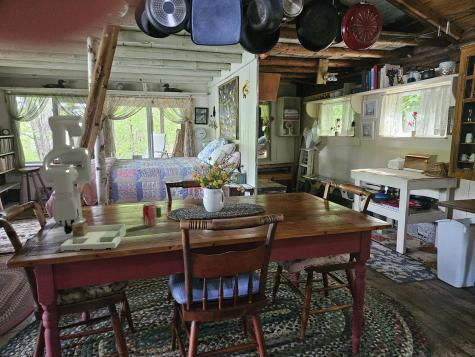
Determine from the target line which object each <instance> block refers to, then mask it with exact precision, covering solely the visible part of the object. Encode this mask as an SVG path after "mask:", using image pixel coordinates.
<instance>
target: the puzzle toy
mask: <svg viewBox="0 0 475 357" xmlns="http://www.w3.org/2000/svg"><path fill="white" fill-rule="evenodd" d="M155 206H156V214H157V218H161V217H162V208H161V206H160V205H159V204H158V205H155Z"/></svg>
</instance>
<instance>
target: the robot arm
mask: <svg viewBox="0 0 475 357" xmlns="http://www.w3.org/2000/svg"><path fill="white" fill-rule="evenodd" d="M47 122H48V123H47V124H48V126H49V129H50V131H51V135H52V137H51V138H52V149H50V151H48V152H47V154H46V155H45V156H44V158H43V161H42V177H43V178H42V179H43V180H44V182H45V183H47V184H53V188H54V193H52V197H53V198H54V199H53V202H52V218H53V220H54V222H56V223H60V225H61V226H63V230H64V233H65V235H70V234H71V233H73V231H72V226H74V225H75V224H76V223H86V219H87V218H85V217H83V210H82V201H81V200H82V199H81V192H80V190H79V188H78V187H77V186H76V185H81V184H88V183H91V182H92V181H93V171H92V170H93V168H92V161H91V154H90V150H89V149H88V148H86V147H76V146H75V139H74V138H76V137H77V138H78V137H80V138H81V137H83V136H85V131H86V121H85V119H84V117H83V116H81V115H70V114H69V115H67V114H65V115H60V114H59V115H52V116H49V117H48V119H47ZM73 137H74V138H73ZM56 159H58V162H59V164H60V165H62V167H60V166H59V167H58V166H57V167H51V164H52V162H53V161H54V160H56ZM75 165H76V166H75ZM77 165H81V166H77ZM63 166H64V167H63Z"/></svg>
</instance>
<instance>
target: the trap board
mask: <svg viewBox="0 0 475 357" xmlns="http://www.w3.org/2000/svg"><path fill="white" fill-rule="evenodd" d="M87 226H88V233H87V234H86V235H85V236H81V237H73V235H72V236H70V237H69V238H68V239H67V240H65V241H64V242H63V243H61V245H60V252H65V251H64V250H75V251H81V250H80V249H93V250H104V249H105V250H107V249H106V248H111V249H116V248H117V247H118V245H119V244H120V243H121V241H123V238H124V237H125V235H126V234H127V229H126V224H125V223H124V224H122V223H121V224H101V225H100V224H99V225H87Z"/></svg>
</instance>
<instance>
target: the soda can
mask: <svg viewBox="0 0 475 357" xmlns="http://www.w3.org/2000/svg"><path fill="white" fill-rule="evenodd" d="M156 206H157V205H155V202H146V203H144V204H143V206H142V218H143V220H142V221H143V225H144V226H146V227H154V226H156V225H157V223H158V217H157V214H156Z"/></svg>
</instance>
